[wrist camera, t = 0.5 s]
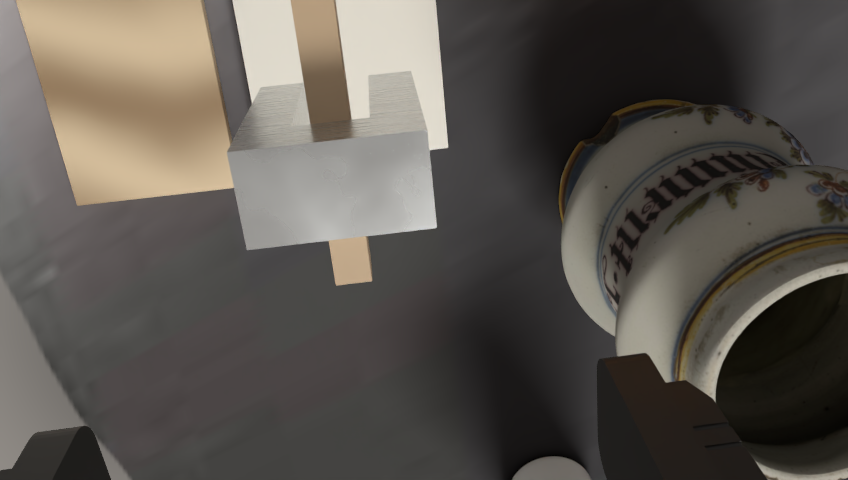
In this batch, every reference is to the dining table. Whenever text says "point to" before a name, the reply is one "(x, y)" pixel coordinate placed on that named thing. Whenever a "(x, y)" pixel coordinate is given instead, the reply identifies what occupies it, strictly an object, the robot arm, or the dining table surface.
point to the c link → (332, 167)
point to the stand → (344, 69)
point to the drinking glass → (552, 470)
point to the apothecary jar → (720, 269)
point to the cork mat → (131, 95)
